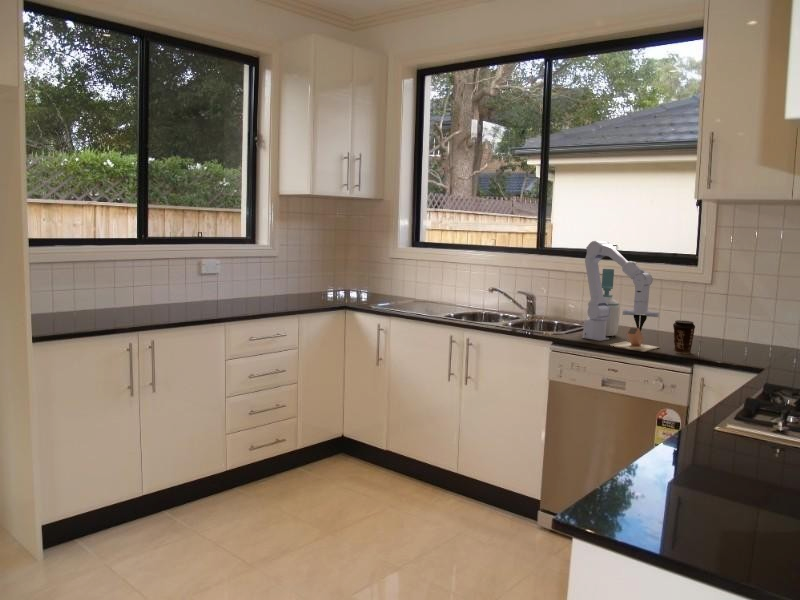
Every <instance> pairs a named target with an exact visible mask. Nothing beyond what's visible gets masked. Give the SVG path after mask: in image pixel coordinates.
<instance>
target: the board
mask: <svg viewBox="0 0 800 600" xmlns="http://www.w3.org/2000/svg"><path fill="white" fill-rule="evenodd" d="M609 345H610V346H609V347H613V346H614V347H615V348H619V349H626V350H631V351H637V352H643V353H644V352H645V353H646V352H648V351H654V350H658V349H657V348H659V349H660V348H661V347H660V346H655V345H649V344H643V343H642V344H641V346H635V345H631V343H630V341H620V342H616V343H610V344H609ZM614 347H613V348H614ZM653 349H654V350H653Z"/></svg>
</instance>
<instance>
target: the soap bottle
mask: <svg viewBox="0 0 800 600" xmlns="http://www.w3.org/2000/svg"><path fill="white" fill-rule="evenodd" d="M614 276H615V269H614V268H602V275H601V285H602V291H604V293H603V297H604V299H605V300H606V301H607V304H608V306H609V308H610V315H609V316H608V317H607V323H606V336H612V337H614V336H615V335H617V333H618V331H619V323H620V303H619V302H618V301H617V300H615V299H614V298H613V294H610V292H611V291H612V290H614Z"/></svg>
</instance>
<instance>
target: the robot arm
mask: <svg viewBox="0 0 800 600" xmlns="http://www.w3.org/2000/svg"><path fill="white" fill-rule="evenodd" d="M605 257H609V258H610V259H612V260H613V262H615V263H616V264H618V265H619V266H620V267H622V268H621V271H622V272H623V273H624V274H625V275H626V276H627V277H629V278H630V279H631V280H632V282H633V283H632V284H633V285H634V300H633V310H632V309H622V316H633V319H634V321H635V325H636V328H639V329H640V331H641V332H642V328H643V327H644V324H645V322H646V320H647V319H648V317H651V318H659V314H660V313H659V312H657V311H656V312H655V311H649V299H650V285H652V284H653V276H652V275H651V273H650V272H645V270H644V269H643V268H641V267H639V266H638V265H637V262H636V261H632V260H629V261H628V260H627V258H625V257H624V256H623V255H622V254H621V252H619V251H618V250H617V249H616V248H615V247H614V245H613V244H611V243H610V242H609V241H606V240H603V241H602V240H601V241H599V240H597V241H596V240H592V241H590V242H589V244H588V245H587V246H586V255H585V257H584V258H585V259H584V264H585V268H586V269H585V270H586V277H587V282H588V288H589V295H590V300H589V302H588V303H587V311H586V312H587V315H588V318H586V319H585V320H584V322H583V329H582V330H583V332H582V336H581V338H583V339H586V340H587V339H588V340H592V341H599V342H601V341H606V340H610V337H606V323H607V317H608V316H609V315H610V308H609V306H608V304H607V301H606V300H605V299H604V297H603V294H604V293H603V288H602V278H601V274H600V267H599V266H600V265H599V262H601V260H602V259H603V258H605Z"/></svg>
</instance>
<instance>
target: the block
mask: <svg viewBox="0 0 800 600" xmlns="http://www.w3.org/2000/svg"><path fill="white" fill-rule="evenodd" d="M626 335H627V338H628V340H629V341H628V342H630V343H631V345H635V346H641V344H643V341H644V337H643V334H642V330H641V331H640V329H639V328H637V327H631V326H630V327H629V328H628V331H627V332H626Z"/></svg>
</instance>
